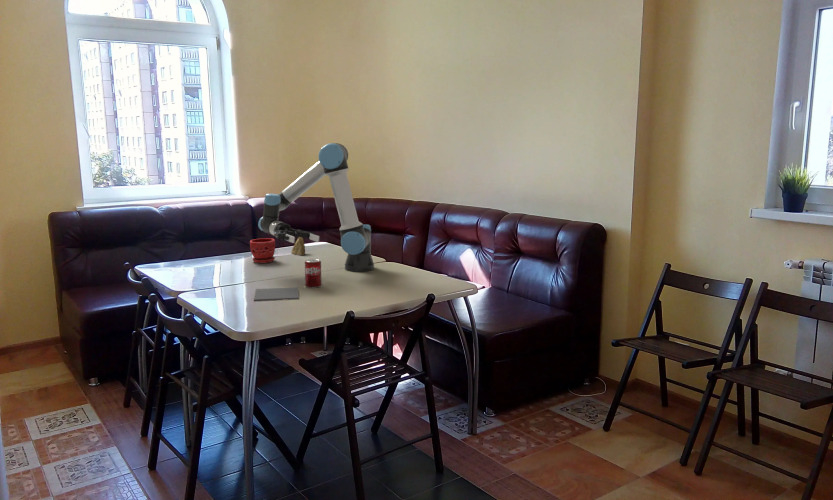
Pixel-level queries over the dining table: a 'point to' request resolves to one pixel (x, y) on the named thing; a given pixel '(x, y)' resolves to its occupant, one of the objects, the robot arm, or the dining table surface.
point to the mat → (276, 294)
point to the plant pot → (262, 250)
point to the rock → (299, 247)
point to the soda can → (313, 273)
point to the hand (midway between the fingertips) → (306, 239)
